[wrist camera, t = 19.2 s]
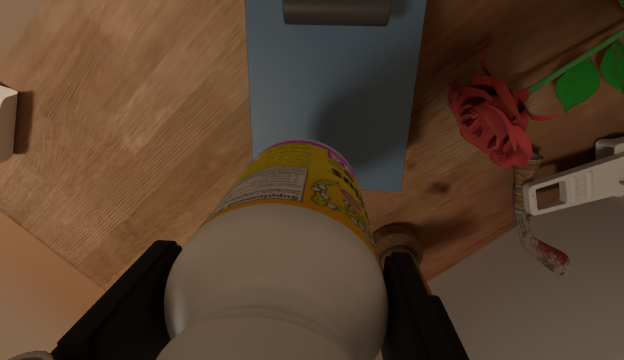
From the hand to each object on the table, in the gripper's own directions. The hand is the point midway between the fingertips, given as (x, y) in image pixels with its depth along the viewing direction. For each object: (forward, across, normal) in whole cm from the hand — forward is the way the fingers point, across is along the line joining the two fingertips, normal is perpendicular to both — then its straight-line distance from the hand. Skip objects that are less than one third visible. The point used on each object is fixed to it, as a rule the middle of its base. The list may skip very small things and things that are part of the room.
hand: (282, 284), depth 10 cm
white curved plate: (+24, +34, +1) cm, 41 cm away
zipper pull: (+25, -31, +3) cm, 40 cm away
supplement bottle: (+8, 0, 0) cm, 8 cm away
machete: (+25, -30, +9) cm, 40 cm away
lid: (+16, -2, -5) cm, 17 cm away
